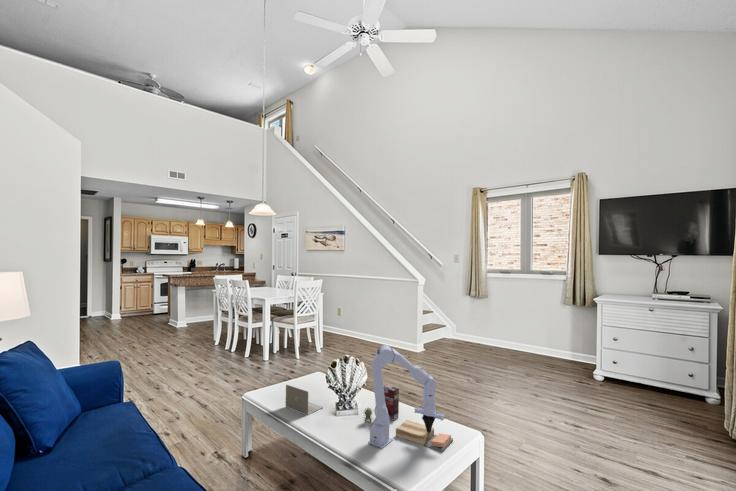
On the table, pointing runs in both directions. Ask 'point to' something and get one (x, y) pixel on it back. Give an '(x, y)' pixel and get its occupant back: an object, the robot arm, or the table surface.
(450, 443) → the mat
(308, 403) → the laptop
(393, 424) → the table surface
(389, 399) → the supplement box
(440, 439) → the block
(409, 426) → the deck
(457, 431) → the table surface
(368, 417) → the green toy figurine
